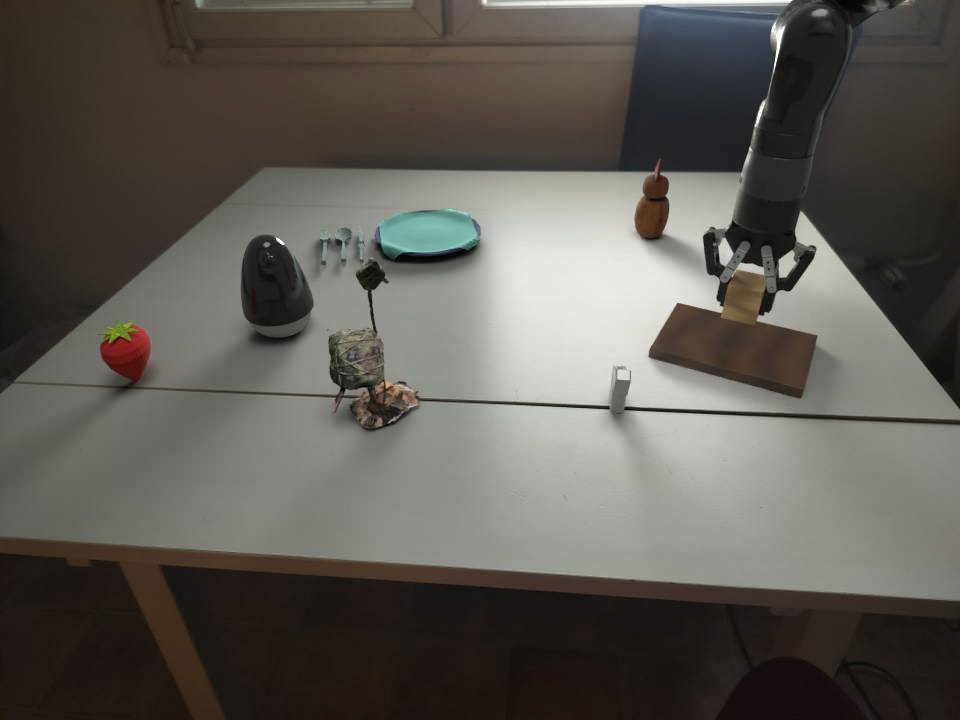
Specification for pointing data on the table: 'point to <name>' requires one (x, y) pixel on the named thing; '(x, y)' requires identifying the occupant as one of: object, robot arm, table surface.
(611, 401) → the lighter
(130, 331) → the strawberry
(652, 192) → the wooden figurine
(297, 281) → the black egg shaped dome
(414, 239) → the cutlery set
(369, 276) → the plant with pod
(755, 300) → the beech block
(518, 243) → the table surface
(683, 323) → the walnut board
